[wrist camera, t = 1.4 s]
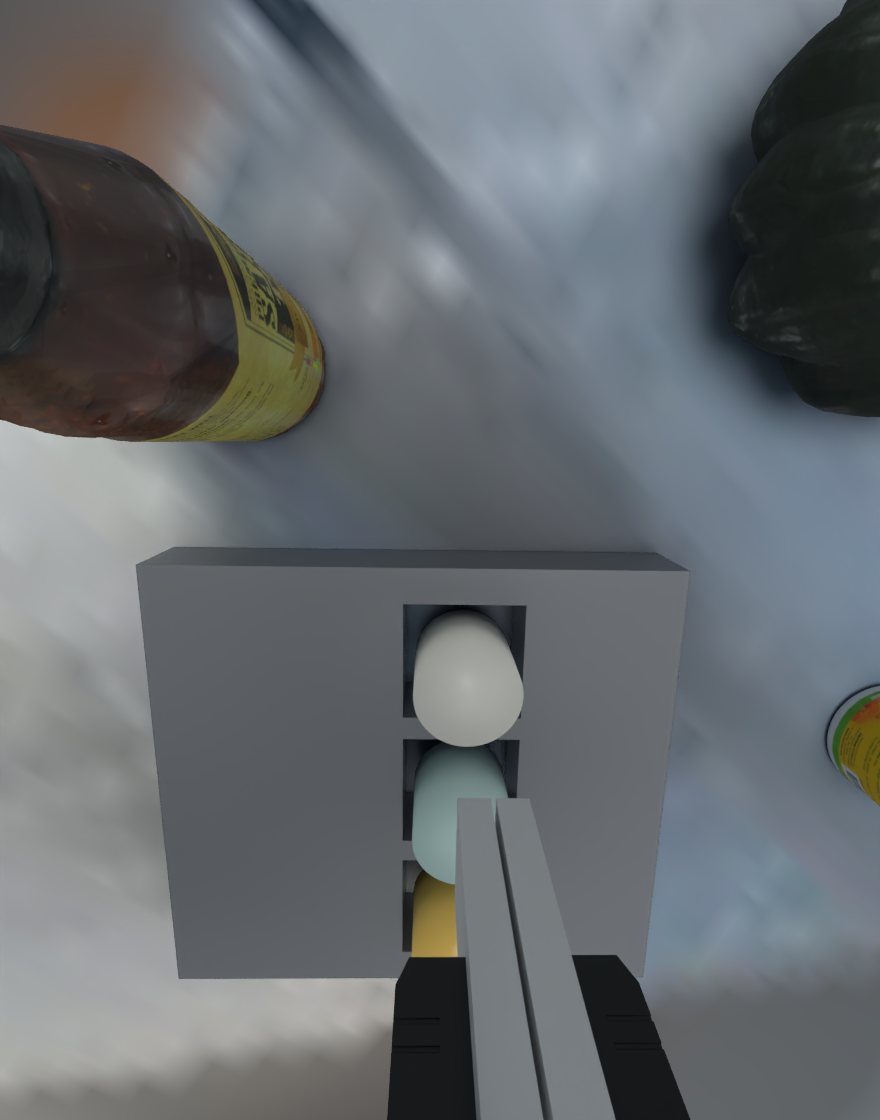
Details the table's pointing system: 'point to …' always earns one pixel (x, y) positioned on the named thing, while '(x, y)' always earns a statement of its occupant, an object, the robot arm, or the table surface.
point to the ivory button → (466, 680)
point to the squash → (817, 219)
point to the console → (393, 743)
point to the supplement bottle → (858, 741)
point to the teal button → (449, 801)
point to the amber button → (433, 918)
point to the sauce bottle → (137, 308)
